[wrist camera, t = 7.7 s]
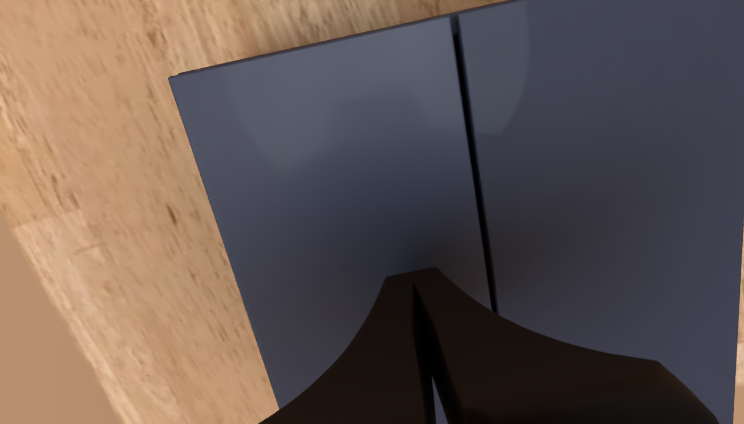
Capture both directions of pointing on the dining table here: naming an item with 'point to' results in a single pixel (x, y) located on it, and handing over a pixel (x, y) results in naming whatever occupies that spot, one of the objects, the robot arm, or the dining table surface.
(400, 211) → the flap
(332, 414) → the robot arm
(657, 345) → the carton
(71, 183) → the dining table surface
